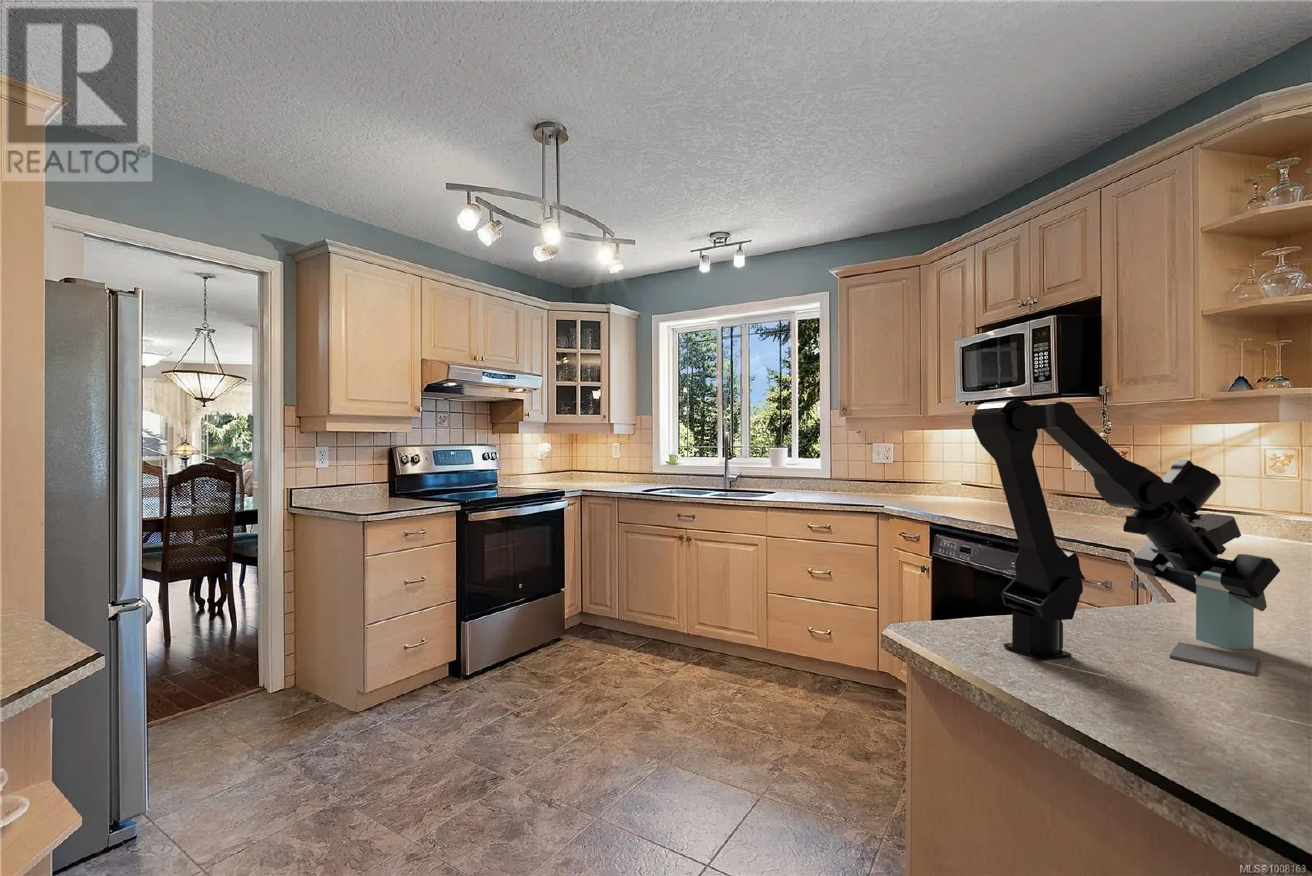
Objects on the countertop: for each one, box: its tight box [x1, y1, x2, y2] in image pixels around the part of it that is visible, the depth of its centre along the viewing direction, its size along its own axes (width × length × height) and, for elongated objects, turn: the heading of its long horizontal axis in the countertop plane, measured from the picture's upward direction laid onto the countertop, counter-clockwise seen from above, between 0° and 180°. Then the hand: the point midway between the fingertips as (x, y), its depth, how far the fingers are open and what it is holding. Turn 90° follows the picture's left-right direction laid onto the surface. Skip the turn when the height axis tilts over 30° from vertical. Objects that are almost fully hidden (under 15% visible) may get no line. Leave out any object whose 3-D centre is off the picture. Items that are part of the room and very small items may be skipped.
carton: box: [1195, 571, 1255, 650], centre depth 96 cm, size 5×5×12 cm
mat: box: [1169, 641, 1259, 676], centre depth 89 cm, size 9×9×1 cm
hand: (1231, 601), depth 97 cm, fingers open, 9 cm apart
